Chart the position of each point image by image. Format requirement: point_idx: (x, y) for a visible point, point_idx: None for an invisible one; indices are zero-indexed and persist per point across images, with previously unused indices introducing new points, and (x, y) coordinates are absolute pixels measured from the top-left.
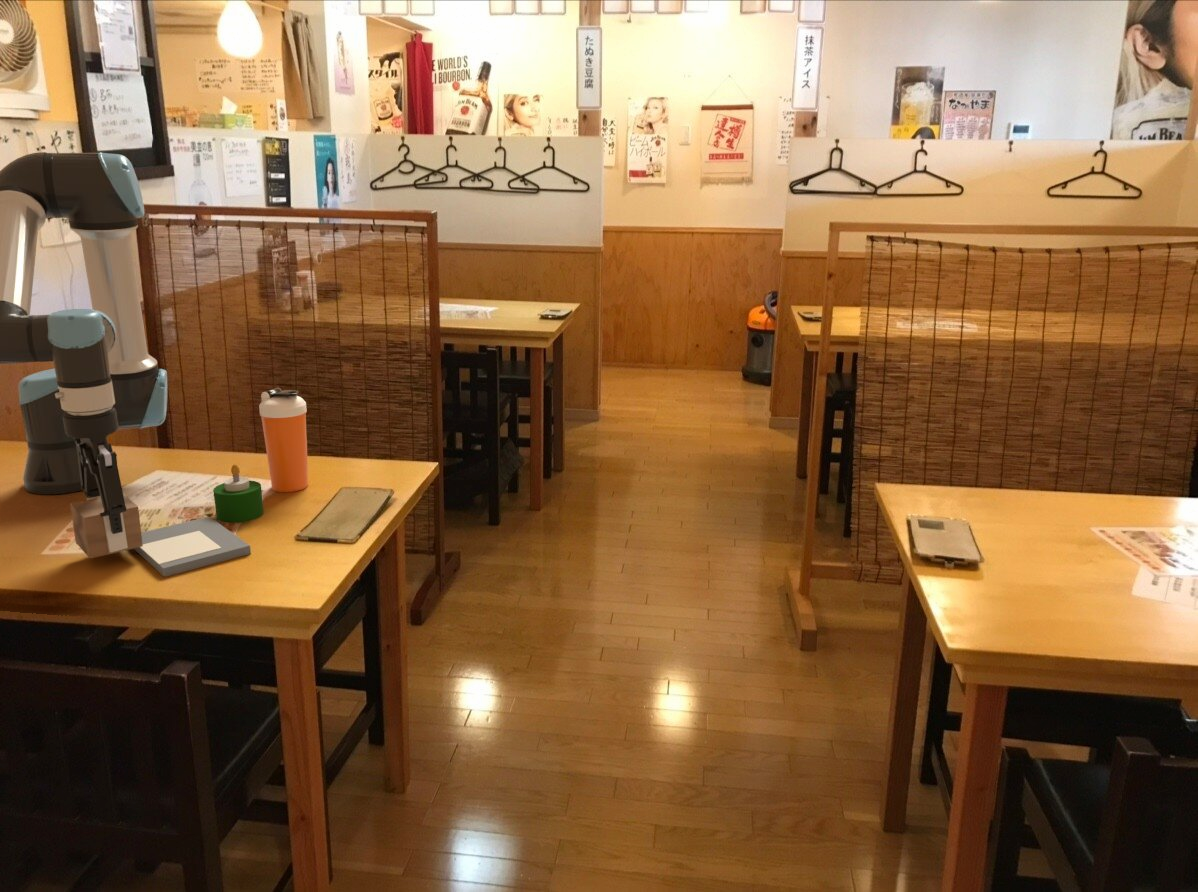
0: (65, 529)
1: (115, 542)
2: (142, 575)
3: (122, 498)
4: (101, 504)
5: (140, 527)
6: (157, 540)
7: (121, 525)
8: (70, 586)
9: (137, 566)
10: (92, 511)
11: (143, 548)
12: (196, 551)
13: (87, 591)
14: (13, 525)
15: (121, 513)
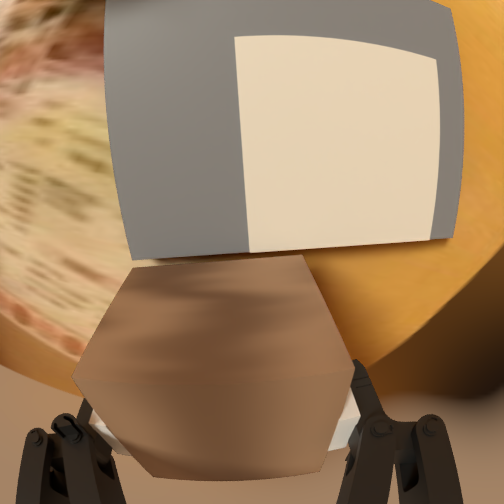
0: (19, 325)
1: None
2: (395, 265)
3: (451, 464)
4: (209, 451)
5: (321, 294)
6: (233, 186)
7: (370, 380)
8: None
9: (335, 263)
10: (276, 466)
11: (288, 245)
12: (423, 123)
13: (379, 356)
14: (4, 364)
15: (356, 409)
